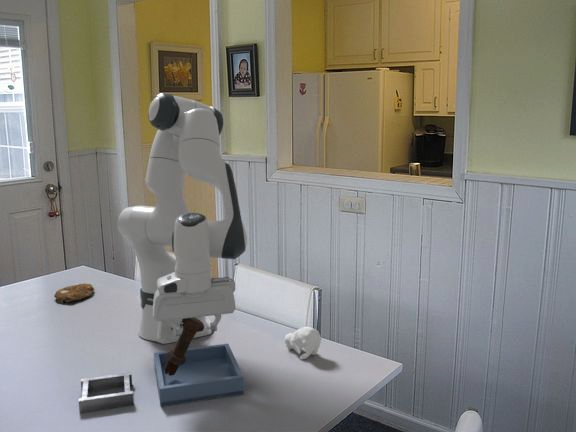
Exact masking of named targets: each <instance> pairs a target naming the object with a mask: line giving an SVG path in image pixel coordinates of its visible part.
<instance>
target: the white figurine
mask: <svg viewBox="0 0 576 432" xmlns="http://www.w3.org/2000/svg"><path fill="white" fill-rule="evenodd" d="M321 341H322V336H321V334H320V332H319V331H318V330H317V329H315V328H314V327H311V326H303V327H300V328H298V329H297V330H296V331H294V332H289V333H287V334H286V335H285V337H284V344H285V347H286V349H287V350H289V349H292V350H294V351H296V352H297V354H301V350H302V349H304V351H305V352H304V353H302V354H301V355H300V356H299V359H300V360H306V359H308V358H309V357H310V356H311V355H312V356H316V354H317V353H318V352H319V348H320V347H321Z"/></svg>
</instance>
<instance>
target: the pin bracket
mask: <svg viewBox="0 0 576 432" xmlns="http://www.w3.org/2000/svg"><path fill="white" fill-rule="evenodd" d="M131 386H133V375H132V372H127V373H119V374H118V373H116V374H109V375H102V376H101V375H100V376H94V377H89V378H88V377H87V378H82V379H80V388H81V389H80V390H81V391H80V392H81V398H78V410H79V414H82V413H90V412H95V411H101V410H102V411H103V410H111V409H117V408H124V407H130V406H134V404H135V403H134V391H133V390H131ZM118 388H124V391H123V392H117V393H109V394H108V393H107V394H102V395H95V396H90V392H96V391H103V390H111V389H118Z"/></svg>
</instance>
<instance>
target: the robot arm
mask: <svg viewBox="0 0 576 432" xmlns="http://www.w3.org/2000/svg"><path fill="white" fill-rule="evenodd" d="M148 121H149V123H150V124H151V126H152V127H154V128H156V129H157V131H156V134H155V136H154V139H153V142H152V145H151V149H150V152H149V158H148V163H147V168H146V175H145V180H144V181H145V186H146V187H147V189H148V190H149V191H150V192H151V193H153V194H154V198H155V206H151V205H149V206H148V205H134V206H133V205H132V206H127V207H125V208H123V210H122V211H121V212H120V214H119V215H118V219H117V228H118V232H119V233H120V235H121V236H122V238H124V239H125V240H126V241H127V242H128V243H129V245H130V246H131V248H132V251H133V252H134V253H135V256H136V258H137V263H138V267H139V273H140V275H139V276H140V285H141V288H140V290H139V291H140V292H139V301H140V308H141V319H140V325H139V329H138V335H139V337H140V338H142V339H144V340H147V341H153V342H157V343H159V344H163V345H165V344H170V343H177V341H178V339H179V337H180V335H181V333H182V331H183V328H184V324H183V323H182V322H181V321H182V319H185V318H197V319H198V320H200V321H201V322H202V323H203V324H204V329H203V331H200V332H196V334H195V336H194V337H193V339H195V338H199V337H204V336H208V335H211V334H212V333H213V332H217V331H218V325H219V323H220V321H221V319H222V315H229V314H234V312H235V310H236V300H235V291H236V281H235V279H234V278H231V277H229V276H223V277H212V264H211V262H210V261H211V260H210V259H211V258H212V259H217V258H218V259H224V260H225V259H226V260H236V259H238V258H239V257H240V256H242V255H243V254H244V253H245V252H246V250H247V246H248V236H247V231H246V229H245V226H244V223H243V220H242V215H241V207H240V203H239V202H240V201H239V197H238V191H237V186H236V185H237V184H236V182H235V177H234V172H233V170H232V167H231V165H230V164H229V163H227V162H225V161H224V160H223V158H222V155H221V153H220V152H221V149H220V142H221V141H220V135H221V134H222V131H223V128H224V116H223V114H222V112H220V110H218V109H217V108H215V107H213V106H208V105H206V104H204V103H202V102H200V101H197V100H194V99H192V98H191V99H190V98H185V97H181V96H177V95H176V96H175V95H173V94H172V93H165V92H161V93H158V94H157V95H155V96H154V97H153V99H152V100H151V102H150V104H149V108H148ZM186 175H187V176H189V177H191V178H192V179H194V180H196V181H197V182H198V181H199V182H202V183H205V184H207V185H211V187H214V188H215V189H218V191H219V192H220V193H221V196H222V200H223V207H224V213H225V218H224V219H222V220H208V218H207V217H206V215H204V214H202V213H198V212H191V211H190V210H189V208H188V206H187V202H186V199H185V196H184V183H185V176H186ZM165 246H169V247H171V249H172V253H174V256H175V257H174V256H172V254H171V253H170V252H168V250H167V248H166V247H165ZM210 316H211V317H212V316H214V320H213V322H212V320H210V319H209V317H210Z"/></svg>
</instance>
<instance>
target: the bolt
mask: <svg viewBox="0 0 576 432" xmlns="http://www.w3.org/2000/svg"><path fill="white" fill-rule="evenodd" d="M181 322H182V323H183V324H184V328H183V331H182V333H181V335H180V337H179V339H178V341H176V342H175V346H174V347H173V349H170V350H167V351H168V353H167V355H166V356H167V359H168V361H167V363H166V365H165V367H164V369H165V374H168V373H169V376H172V375H174V374H175V373H176V371H177V369H178V367H179V365H183V364H184V363H185V361H186V357H185V353H186V351H187V349H188V348H189V347H190V346H191V343H192V341H193V339H194V338H193V337H194V336H195V334H196V332H200V331H203V329H204V324H203V323H202V322H201V321H200V320H198V319H197V318H185V319H182V321H181Z"/></svg>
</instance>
